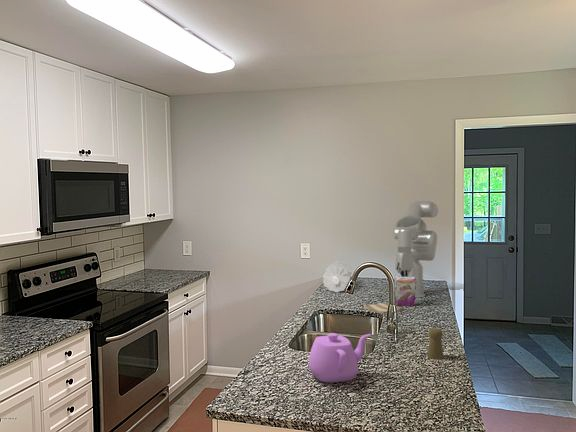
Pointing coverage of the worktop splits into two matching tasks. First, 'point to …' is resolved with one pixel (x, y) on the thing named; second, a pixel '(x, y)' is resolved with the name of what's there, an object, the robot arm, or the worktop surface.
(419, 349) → the worktop surface
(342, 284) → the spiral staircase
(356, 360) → the teapot
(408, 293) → the candy bar box
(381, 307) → the maple board
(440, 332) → the brown pepper mill
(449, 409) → the worktop surface
